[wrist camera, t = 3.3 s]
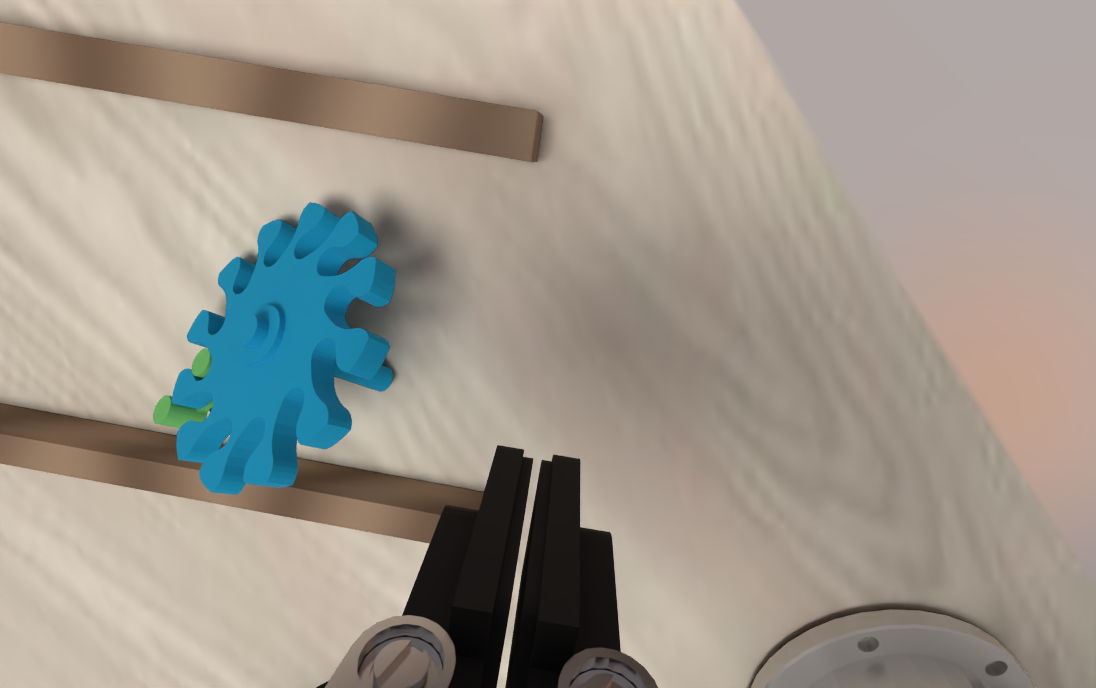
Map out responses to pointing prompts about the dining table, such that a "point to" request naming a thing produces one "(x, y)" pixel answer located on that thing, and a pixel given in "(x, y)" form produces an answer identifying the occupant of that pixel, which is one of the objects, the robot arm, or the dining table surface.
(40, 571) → the dining table surface
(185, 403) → the gear
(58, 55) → the guide
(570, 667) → the robot arm
